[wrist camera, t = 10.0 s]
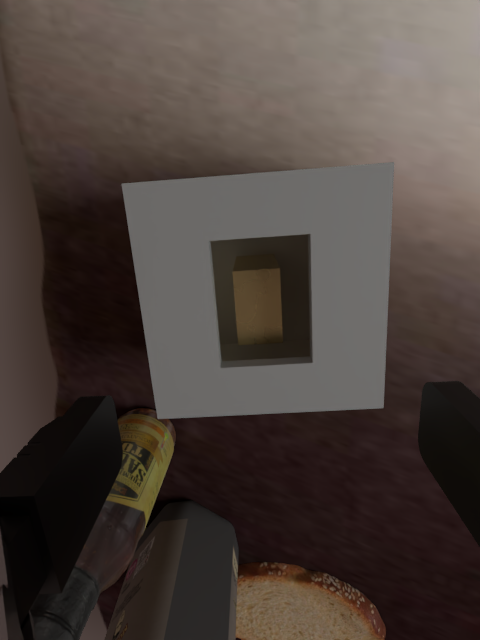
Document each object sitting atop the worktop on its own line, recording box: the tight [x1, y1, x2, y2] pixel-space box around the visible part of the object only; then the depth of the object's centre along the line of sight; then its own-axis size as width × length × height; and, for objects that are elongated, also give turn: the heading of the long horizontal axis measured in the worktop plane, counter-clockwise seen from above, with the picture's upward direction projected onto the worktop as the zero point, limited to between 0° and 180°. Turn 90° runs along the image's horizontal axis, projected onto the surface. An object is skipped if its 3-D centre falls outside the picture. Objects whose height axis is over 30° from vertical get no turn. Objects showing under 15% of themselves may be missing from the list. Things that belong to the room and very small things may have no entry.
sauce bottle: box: [30, 408, 176, 640], centre depth 28 cm, size 7×6×20 cm
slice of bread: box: [235, 562, 386, 640], centre depth 42 cm, size 18×18×4 cm
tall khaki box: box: [232, 254, 283, 345], centre depth 28 cm, size 5×3×7 cm, turn 4°
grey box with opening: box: [122, 162, 394, 419], centre depth 27 cm, size 14×14×11 cm
